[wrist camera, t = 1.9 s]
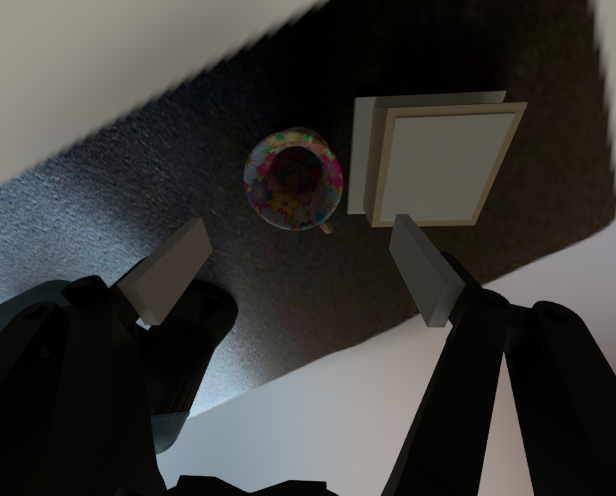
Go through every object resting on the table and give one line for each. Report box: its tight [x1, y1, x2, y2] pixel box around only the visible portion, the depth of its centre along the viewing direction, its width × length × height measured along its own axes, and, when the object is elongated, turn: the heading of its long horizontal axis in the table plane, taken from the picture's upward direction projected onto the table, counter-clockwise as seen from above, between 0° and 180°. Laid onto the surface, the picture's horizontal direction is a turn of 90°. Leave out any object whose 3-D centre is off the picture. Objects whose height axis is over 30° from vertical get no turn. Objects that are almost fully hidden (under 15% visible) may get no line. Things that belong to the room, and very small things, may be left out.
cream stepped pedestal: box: [347, 91, 528, 227], centre depth 25 cm, size 16×14×7 cm
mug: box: [244, 127, 343, 234], centre depth 25 cm, size 12×9×11 cm
